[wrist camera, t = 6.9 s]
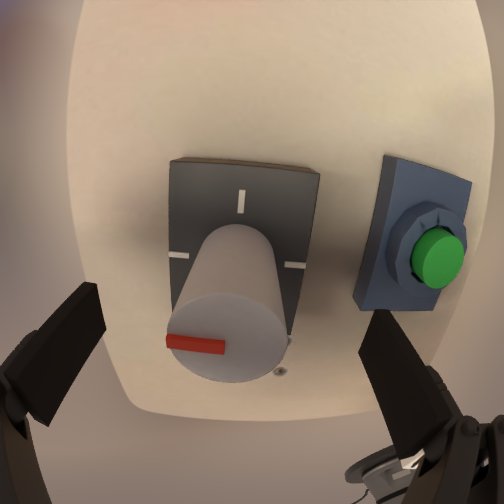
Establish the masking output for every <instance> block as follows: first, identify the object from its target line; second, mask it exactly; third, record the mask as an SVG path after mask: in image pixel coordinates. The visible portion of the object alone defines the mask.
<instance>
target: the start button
mask: <svg viewBox="0 0 504 504" xmlns="http://www.w3.org/2000/svg"><path fill="white" fill-rule="evenodd" d="M463 259H464V249H463V245H462V243H461V241H460V240H459V239H458V238H457V237H455V236H454V235H452V234H451V233H449V232H447V231H446V230H444V229H442V228H433V229H430V230H428V231H426V232H425V233H424V234H423V235H422V236H421V237H420V238H419V239H418V241H417V242H416V244H415V246H414V249H413V252H412V257H411V263H412V268H413V271H414V272H415V274H416V275H417V276H418V277H419V278H420V279H421V280H422V281H423V282H424V283H425V284H426V285H427V286H429V287H430V288H434V289H438V288H442V287H444V286H446V285H448V284H449V283H450V282H451V281H452V280H453V279H454V278H455V277H456V276H457V274H458V273H459V271H460V269H461V266H462V263H463Z"/></svg>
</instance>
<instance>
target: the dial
mask: <svg viewBox="0 0 504 504" xmlns="http://www.w3.org/2000/svg"><path fill="white" fill-rule="evenodd" d="M287 344H288V336H287V329H286V323H285V317H284V311H283V305H282V298H281V292H280V286H279V281H278V275H277V269H276V263H275V257H274V252H273V249H272V246H271V244H270V242H269V241H268V239H267V238H266V237H265V236H264V235H263V234H262V233H261V232H259V231H258V230H256V229H254V228H252V227H250V226H246V225H241V224H231V225H226V226H223V227H220V228H218V229H216V230H214V231H213V232H212V233H211V234H210V235H208V237H207V238H206V239H205V240H204V242H203V244H202V246H201V248H200V251H199V253H198V255H197V257H196V259H195V262H194V264H193V266H192V268H191V271H190V273H189V275H188V278H187V280H186V282H185V284H184V287H183V289H182V291H181V294H180V296H179V298H178V301H177V303H176V306H175V308H174V310H173V313H172V315H171V318H170V320H169V323H168V327H167V336H166V345H167V348H170V349H171V351H172V353H173V354H174V356H175V357H176V359H177V360H178V361H179V362H180V363H181V364H182V365H183V366H184V367H186V368H187V369H188V370H190V371H191V372H193V373H195V374H197V375H199V376H201V377H204V378H206V379H210V380H213V381H218V382H227V383H237V382H245V381H250V380H254V379H257V378H259V377H261V376H264V375H265V374H267V373H269V372H270V371H272V370H273V369H274V368H275V367H276V366H277V365H278V364H279V363H280V361H281V360H282V359H283V357H284V355H285V352H286V349H287Z"/></svg>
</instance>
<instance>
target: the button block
mask: <svg viewBox="0 0 504 504" xmlns="http://www.w3.org/2000/svg"><path fill="white" fill-rule="evenodd" d="M471 186H472V182H470V181H468V180H465V179H462V178H460V177H457V176H454V175H451V174H449V173H446V172H443V171H440V170H437V169H434V168H431V167H427V166H424V165H421V164H418V163H414V162H411V161H407V160H404V159H400V158H396V157H391V156H385V155H384V159H383V166H382V172H381V178H380V184H379V190H378V195H377V200H376V205H375V210H374V215H373V220H372V224H371V229H370V233H369V238H368V242H367V246H366V250H365V254H364V258H363V262H362V265H361V269H360V273H359V276H358V280H357V283H356V287H355V290H354V293H353V298H354V300H355V302H356V304H357V305H358V307H359V309H360V311H374V310H375V309H389V311H433V309H434V307H435V304H436V302H437V300H438V297H439V295H440V292H441V290H442V289H443V288H445V287H446V286H447V285H446V286H444V287H442V288H438V289H434V288H430V287H429V286H427V285H426V284H425V283H424V282H423V281H422V280H421V279H420V278H419V277H418V276H417V275H416V274H415V272H414V271H413V268H412V263H411V257H412V252H413V249H414V246H415V244H416V242H417V241H418V239H419V238H420V237H421V236H422V235H423V234H424V233H425V232H426V231H428V230H430V229H433V228H442V229H444V230H446V231H447V232H449V233H451V234H452V235H454V236H455V237H457V238H458V239H459V240H460V241H461V243H462V245H463V249H464V255H465V252H466V248H467V240H466V228H465V226H464V224H463V222H464V218H465V214H466V210H467V205H468V201H469V196H470V191H471Z"/></svg>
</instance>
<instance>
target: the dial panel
mask: <svg viewBox="0 0 504 504" xmlns="http://www.w3.org/2000/svg"><path fill="white" fill-rule="evenodd" d="M319 180H320V174H319V173H317V172H315V171H313V170H311V169H309V168H302V167H295V166H287V165H278V164H269V163H259V162H248V161H236V160H222V159H205V158H179V159H176V160H172V161H170V170H169V251H168V257H169V264H170V286H171V302H172V313H173V310H174V308H175V306H176V303H177V301H178V298H179V296H180V294H181V291H182V289H183V287H184V284H185V282H186V280H187V278H188V275H189V273H190V271H191V268H192V266H193V264H194V262H195V259H196V257H197V255H198V253H199V251H200V248H201V246H202V244H203V242H204V240H205V239H206V238H207V237H208V235H210V234H211V233H212V232H213V231H214V230H216V229H218V228H220V227H223V226H226V225H231V224H241V225H246V226H250V227H252V228H254V229H256V230H258V231H259V232H261V233H262V234H263V235H264V236H265V237H266V238H267V239H268V241H269V242H270V244H271V246H272V249H273V252H274V257H275V263H276V269H277V275H278V281H279V286H280V292H281V298H282V305H283V311H284V317H285V323H286V329H287V335H291V331H292V326H293V322H294V317H295V313H296V308H297V303H298V299H299V294H300V289H301V284H302V279H303V274H304V269H305V268H306V258H307V253H308V248H309V242H310V236H311V231H312V225H313V219H314V213H315V206H316V200H317V193H318V187H319Z"/></svg>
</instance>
